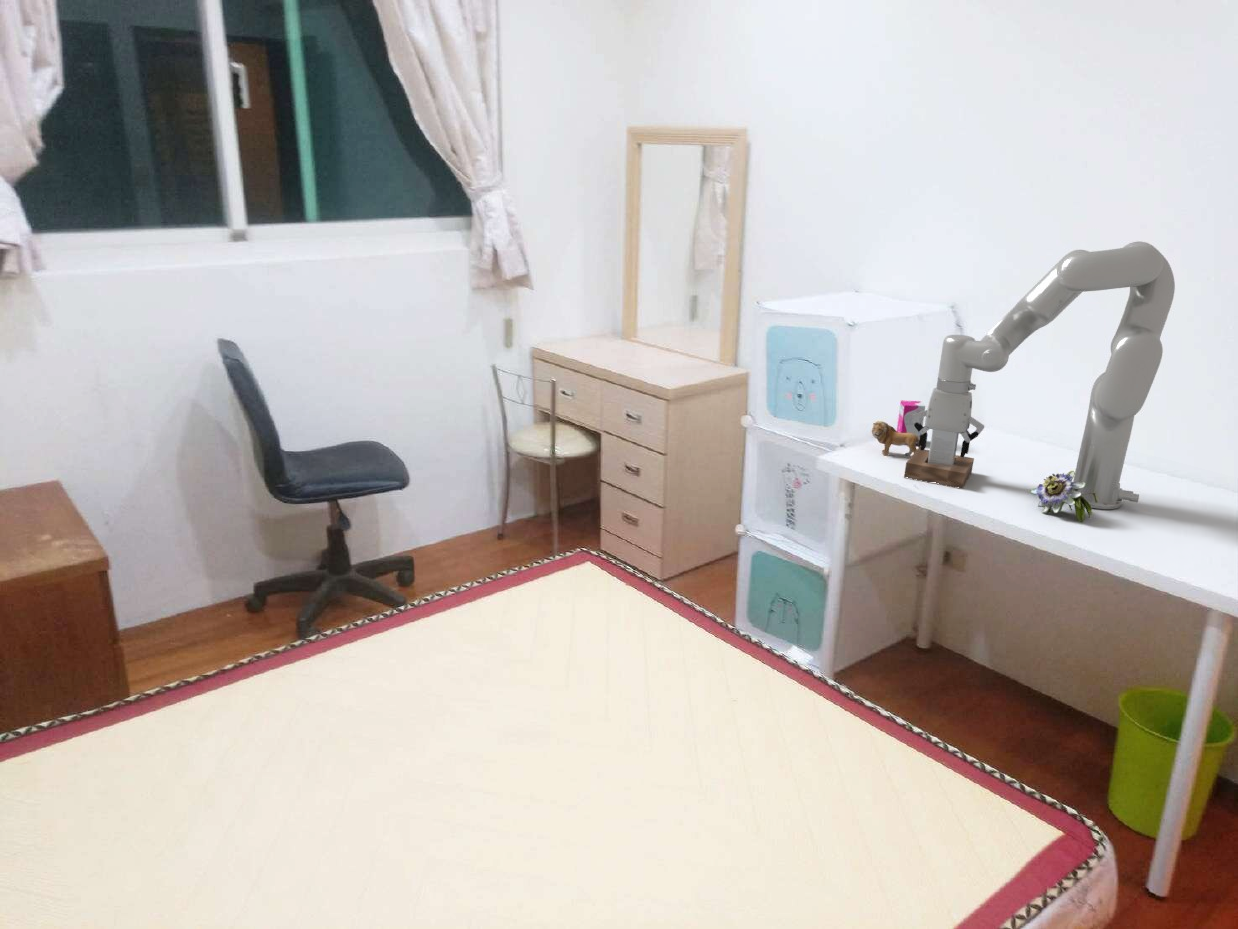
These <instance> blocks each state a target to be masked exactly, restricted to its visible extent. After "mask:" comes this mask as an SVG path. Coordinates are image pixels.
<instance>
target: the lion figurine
mask: <svg viewBox="0 0 1238 929" xmlns="http://www.w3.org/2000/svg"><path fill="white" fill-rule="evenodd" d="M871 435H872V436H873V438H875V439H876V440H877V441H878V443H880V444H883V446H884V448H883V449H882V450H881V453H882V456H888V455H889V453H890V448H891V446H892V445H893V446H897V447H900V446H901V447H902V446H906V444H907V447H908V448H909V451H908V452H905V454H904V455H905V456H909V457H910V456H912V455H913V454H914V453H915V451H916V450H917V449H918V448H919V449H921V446H919V438H918V437H917V436H916V435H915V434H913V433H899V432H897V429H895V428H894V426H891V425H889V424H888V423H887V422H884V421H883V420H877V421H875V422H873V424H872V429H871ZM916 442H917V443H918V445H916ZM917 447H918V448H917Z"/></svg>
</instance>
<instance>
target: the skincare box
mask: <svg viewBox="0 0 1238 929" xmlns="http://www.w3.org/2000/svg"><path fill="white" fill-rule="evenodd" d="M931 430H932V433H931V440H930V445H929V450H930V451H929V458H928V463H930V464H935V465H940V466H946V467H952V465H953V464H954V461H955V455H957V454H956V452H957V446H958V440H959V435H960V434H959V433H954V432H949V431H943V430H937V429H931Z"/></svg>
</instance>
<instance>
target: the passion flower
mask: <svg viewBox="0 0 1238 929" xmlns="http://www.w3.org/2000/svg"><path fill="white" fill-rule="evenodd" d="M1074 476H1075V471H1074V470H1069V472H1068V473H1064V472H1063V473H1056V474H1055V473H1052V475H1049V476H1048V477H1046V478H1043V481H1044V482H1043V483H1039V484H1038V485H1037V488H1032V489H1030V493H1031V494H1033V495H1037V497H1038V499H1039V502H1038V504H1037V507H1039V508H1043V509H1042V511H1041V513H1042V514H1045V515H1046V514H1048V513H1050V511H1051V510H1052V511H1053V513H1054V514H1059V513H1060V512H1061V511H1062V509H1063V506H1064V504H1066V505H1068V507H1069V509H1070V511H1073V508H1072V506H1074V509H1075V514H1076V518H1077V520H1078V521H1079V522H1081V523H1083V522H1084V519H1085V515H1086V513H1087V515H1088V519H1090V518H1091V516H1092V514H1093V511H1092V510H1093V508H1091V506H1090V504H1089V503H1088V502H1087V501H1086V500H1085V499H1084V497H1082V496H1081V495H1083V494H1081V493H1080V492H1078V491H1077V490H1078V489H1081V488H1083V487H1085V485H1086V484H1085V483H1081V482H1073V480H1074ZM1084 494H1092V493H1084ZM1093 495H1094V497H1095V502H1098V498H1097V495H1096V492H1095V493H1093ZM1083 505H1084V506H1083Z"/></svg>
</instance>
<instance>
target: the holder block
mask: <svg viewBox="0 0 1238 929" xmlns="http://www.w3.org/2000/svg"><path fill="white" fill-rule="evenodd" d="M916 449H917V450H916V451H915V453H912V454H911V455H910V456H909V457H910V458H909V459H908V460H907V461H906V463H905V468H904V476H903V478H904V477H908V478H912V479H911V480H914V479H917V480H916V481H919V480H922V481H921V482H924V481H927V482H926V483H929V482H936V483H939V484H943V485H942V486H945V485H947V486H946V487H950V486H951V487H952V488H955V487H959V488H958V489H960V488H964V487H965V485H966V484H965V483H967V482H968V480H969V479H970V477H971V475H972V473H973V468H974V462H975V461H974V460H975V458H974V457H969V456H964V457H961V456H960V455H958V454H956V455H955V461H954V464H953V465H952V467H946V466H940V465H935V464H930V463H928V458H929V451H930V449H926V448H925V449H924V450H920V449H919V447H918V448H916ZM908 478H907V479H908ZM939 484H938V485H939ZM951 487H950V488H951Z"/></svg>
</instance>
